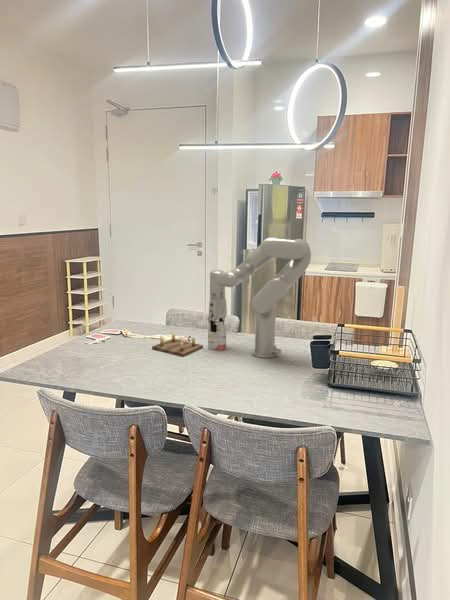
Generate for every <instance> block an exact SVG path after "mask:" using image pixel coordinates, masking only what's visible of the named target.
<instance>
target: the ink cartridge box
mask: <svg viewBox="0 0 450 600" xmlns="http://www.w3.org/2000/svg"><path fill="white" fill-rule="evenodd" d="M223 322H224V321H223ZM223 322H219V320H216V332H211V324H210V322H209V321H207V323H208V324H207V325H208V326H207V349H209V350H217V351H218V350H219V351H224V350H225V349H227V325H224V326H223Z"/></svg>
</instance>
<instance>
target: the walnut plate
mask: <svg viewBox="0 0 450 600" xmlns="http://www.w3.org/2000/svg"><path fill="white" fill-rule="evenodd" d="M181 342H183V343H184V351H180V343H181ZM151 349H152V350H154V351H158V352H162V353H165V354H169V355H170V354H171V355H174V356H177V357H182V358H184V357H186V356H188V355H191V354H192V353H196V352H198V351H200V350H202V349H204V345H203V344H199V343H195V346H192V342H189V341H185V340H180V339H176V338H175V342H172V338H171V339H169V340H165V341H164V346H160V343H158V344H155V345H152V347H151Z"/></svg>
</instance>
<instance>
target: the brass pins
mask: <svg viewBox="0 0 450 600" xmlns="http://www.w3.org/2000/svg"><path fill="white" fill-rule="evenodd" d="M171 339H172V342H175V339H176V333H171ZM159 341H160V342H159V344H160V346H164V342H165V341H164V337H160V338H159ZM191 343H192V346H195V344H196V338H195V337H191ZM180 351H184V343H183V342H181V343H180Z"/></svg>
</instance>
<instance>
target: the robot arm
mask: <svg viewBox="0 0 450 600" xmlns="http://www.w3.org/2000/svg"><path fill="white" fill-rule="evenodd" d="M310 247H311V246H309V243H308V242H307V241H306V240H304V239H303V238H295V239H284V238H283V239H282V238H279V237H277V236H269V237H266V238H265V239H264V240H263V241H262V242H261V243H260V245H258V246H257V247H256V248H255V249H253V250H252V251H251V252H250V253H248V254H247V256H246V258H245V259H244V260H243V262H241V263H240V264H239V265H237V266H236V267H235V268H233V269H232V270H230V271H224V270H219V269H217V270H211V271H210V273H209V301H208V302H209V304H208V316H207V317H206V318H207V320H208V321H209V322H210V324H211V332H216V325H217V323H216V321H219V322H223V326H225V319H226V317H227V315H228V313H227V312H228V311H227V309H228V308H227V307H228V306H227V298H226V287H227V288H233V287H236V286H237V285H239V284H241V283H243V282H244V281H245V280H247V278H249V277H250V276H252V275H253V274H254V273H255V272H257V271H259V270H260V269H261V268H262V267H263V266H265V265H266V264H267V263H268V262H270V261H271V260H272V259H274V258H275V259H283V260H289V261H288V262H287V263H286V264H285V266H283V268H281V270H280V271H279V272H278V273H276V275H274V276H273V277H271V278H270V279H269V280H268V281H267V282H266V283H265V284H264V285H263V286H262V287H261V288H260V290H259V291H257V293H256V294H255V295H254V296H253V298H252V299H251V304H250V305H251V309H252V311H253V312H255V323H254V324H255V327H254V330H255V331H254V332H255V334H254V335H255V336H254V348H253V349H252V350H251V355H252V356H254V357H257V358H263V359H267V358H268V359H269V358H274V357H276V356H278V355H282V349H281V348H277V344H275V343H276V342H275V341H276V316H277V306H278V302H279V301H280V300H281V299H282V298H283V297H284V296H285V295H286V294H287V293H288V292H289V290H290V289H291V287H292V286H293V285H294V284H295V283H296V282H297V281H298V280H299V278H300V277H301V276H302V275H303V274H304V273H305V272H306V271H307V268H308V267H309V265H310V263H311V259H312V252H311V248H310ZM208 321H207V322H208Z"/></svg>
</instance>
